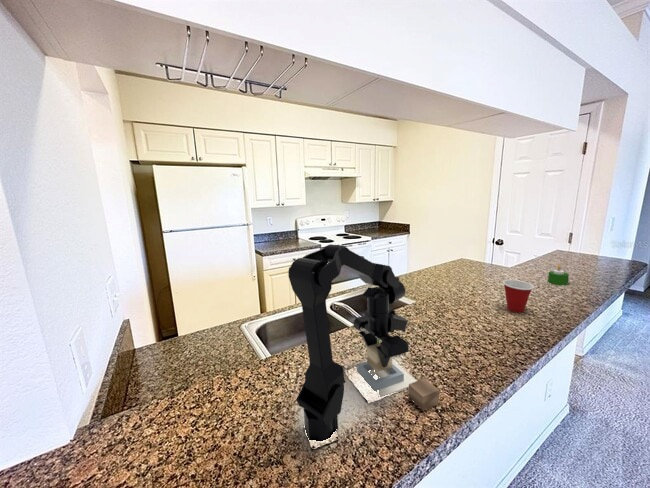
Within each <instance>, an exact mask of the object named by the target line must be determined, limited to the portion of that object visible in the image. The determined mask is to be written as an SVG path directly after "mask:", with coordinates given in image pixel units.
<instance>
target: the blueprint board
mask: <svg viewBox="0 0 650 488" xmlns="http://www.w3.org/2000/svg"><path fill="white" fill-rule="evenodd" d="M356 366H357V372H358V373H359V374H360V375H361V376H362V377H363V378H364V380H365V381H366V382H367V383H368V384H369V385H370V386H371V388H372V389H373V390H374V391H376V392H377V390H379V395H380V397H382V396H385V395H388V394H391V393H394V392H398V391H400V390H404V389H407V388H409V384H411V383H413V382H416V381H418V380H417V379H416V378H415V377H413V376H412V374H410V373H409V372H408V371H407V370H405V368H403V367H402V366H401V365H400V364H399V363H397V362H396V361H395V360H394V359H392V368H389V369H386V370H382V371H379V372H376V371H375V372H374V369H373V368H372V367H371V366H370V365H369V364H368V363H367V361H364V362H360V363H358V364H356ZM369 370H371V371H370V373H369V372H368V371H369ZM371 374H372V375H371ZM375 374H376V375H377V376H378V379H377V380H375V379H374V378H373V376H374V375H375ZM379 377H380V378H379ZM378 397H379V396H378Z"/></svg>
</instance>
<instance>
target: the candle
mask: <svg viewBox="0 0 650 488" xmlns="http://www.w3.org/2000/svg"><path fill="white" fill-rule="evenodd" d="M569 277H570V274H569V273H567V272H565V271H564V270H562V266H561V265H560V264H558V265H557V269H553V270H551V271H548V275H547V283H548V282H549V283H548V284H550V283H551V284H550V285H555V286H562V285H564V286H568V284H569Z"/></svg>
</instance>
